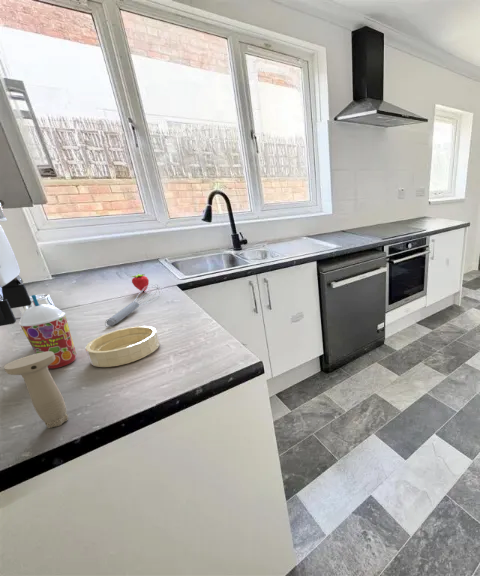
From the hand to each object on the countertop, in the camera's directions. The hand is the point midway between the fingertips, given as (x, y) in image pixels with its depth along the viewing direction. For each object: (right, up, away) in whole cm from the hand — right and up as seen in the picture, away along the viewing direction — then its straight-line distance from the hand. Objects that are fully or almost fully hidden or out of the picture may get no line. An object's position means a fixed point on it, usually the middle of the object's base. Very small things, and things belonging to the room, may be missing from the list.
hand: (11, 315), depth 53 cm
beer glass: (-40, -12, +44) cm, 60 cm away
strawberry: (-46, +3, +87) cm, 99 cm away
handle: (-3, -23, +11) cm, 26 cm away
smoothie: (-25, -16, +32) cm, 44 cm away
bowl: (-10, -14, +36) cm, 40 cm away
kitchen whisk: (-32, -4, +68) cm, 75 cm away
